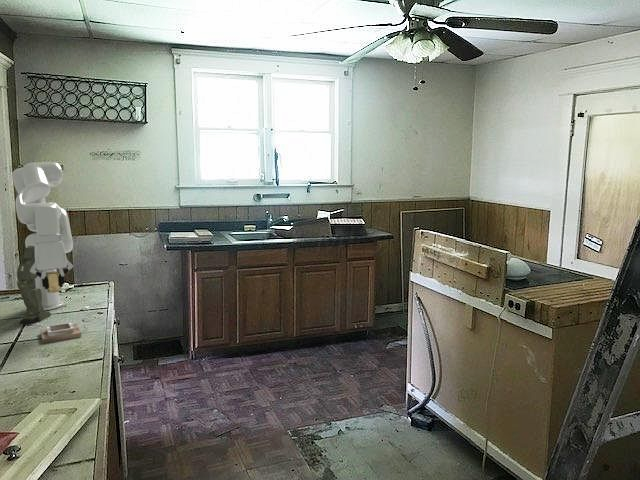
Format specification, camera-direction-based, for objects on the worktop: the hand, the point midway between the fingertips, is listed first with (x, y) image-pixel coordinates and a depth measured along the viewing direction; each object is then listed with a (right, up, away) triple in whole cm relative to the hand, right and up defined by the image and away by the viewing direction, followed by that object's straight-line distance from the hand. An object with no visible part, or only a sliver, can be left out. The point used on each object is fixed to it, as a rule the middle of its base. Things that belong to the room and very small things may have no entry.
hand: (53, 287), depth 189 cm
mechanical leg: (-13, -14, +12) cm, 22 cm away
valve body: (0, -2, 0) cm, 2 cm away
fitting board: (+6, -17, -6) cm, 19 cm away
